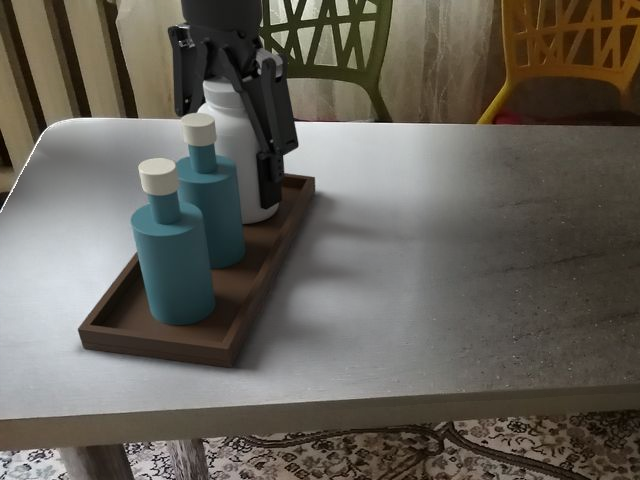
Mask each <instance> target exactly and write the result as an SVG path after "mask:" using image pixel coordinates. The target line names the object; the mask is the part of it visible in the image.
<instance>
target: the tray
mask: <svg viewBox="0 0 640 480" xmlns="http://www.w3.org/2000/svg"><path fill="white" fill-rule="evenodd" d="M284 174H285V175H284V178H283V179H282V180H281V189H282V201H280V202H279V206H278V209H277V211H276V212H275V213H274V214H273V215H272V216H271V217H269V218H268V219H265V220H263V221H260V222H256V223H250V224H243V233H244V242H245V255H244V257H243V258H242V259H241V260H240V261H239V262H238V263H236V264H234V265H232V266H229V267H225V268H218V269H211V275H212V282H213V288H214V295H215V302H216V305H215V308H214V310H213V312H212V313H211V314H210V315H209V316H208V317H207V318H205V319H203V320H201V321H199V322H197V323H193V324H189V325H168V324H165V323H162V322H160V321H158V320H157V319H155V318H154V317H153V315H152V314H151V311H150V306H149V302H148V297H147V293H146V288H145V284H144V280H143V275H142V271H141V266H140V262H139V257H138V253H137V251H136V252H135V253H134V254H133V256H132V257H131V258H130V260H129V261H128V262H127V264H126V265H124V267H123V269H122V270H121V271H120V272H119V274H118V275H117V277H115V279H114V280H113V282H112V284H110V286H109V287H108V288H107V290H106V291H105V292H104V294H103V295H102V296H101V298H100V299H99V300H98V301H97V303H96V304H95V305H94V306H93V308H92V310H91V311H90V312H89V313H88V314H87V316H86V317H85V319H84V320H83V321H82V322H81V324H80V325H79V327H78V328H77V332H78V335H79V338H80V341H81V346H82V348H83V349H86V350H92V351H93V350H95V351H102V352H110V353H116V354H124V355H125V354H126V355H131V356H132V355H133V356H140V357H146V358H154V359H162V360H170V361H177V362H178V361H179V362H183V363H184V362H185V363H193V364H200V365H206V366H207V365H208V366H215V367H223V368H230V369H231V368H232V366H233V365H234V363H235V360H236V359H237V356H238V354H239V352H240V350H241V348H242V346H243V344H244V342H245V339H246V338H247V335H248V333H249V332H250V329H251V327H252V325H253V323H254V321H255V320H256V317H257V315H258V313H259V311H260V309H261V307H262V304H263V303H264V300H265V299H266V296H267V294H268V293H269V290H270V289H271V286H272V285H273V282H274V281H275V278H276V276H277V274H278V272H279V269H280V268H281V266H282V263H283V262H284V259H285V257H286V255H287V254H288V252H289V249H290V247H291V244H292V243H293V241H294V239H295V237H296V235H297V233H298V231H299V228H300V226H301V224H302V222H303V220H304V218H305V216H306V214H307V212H308V210H309V208H310V206H311V204H312V202H313V199H314V197H315V196H316V177H315V176H310V175H304V174H303V175H302V174H295V173H287V172H284Z"/></svg>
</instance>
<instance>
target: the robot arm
mask: <svg viewBox="0 0 640 480" xmlns="http://www.w3.org/2000/svg"><path fill="white" fill-rule="evenodd" d="M180 6H181V13H182V14H181V15H182V17H183V19H184V21H185V22H181V23H178V24H175V25H171V26H169V27H168V28H167V34H168V35H167V36H168V39H169V42H170V46H171V49H172V74H173V76H172V77H173V78H172V79H173V103H174V104H173V107H174V113H175V115H176V116H177V117H178V118H182V117H183V116H185V115H187V114H191V113H197V112H198V110H199V108H200V107H201V106H202V105H203V104H204V103H206V98H205V95H204V89H203V82H204V81H205V80H207V79H209V78H212V77H214V76H224V77H225V78H227V79H228V80H230V81H231V84H232V86H233V89H234V91H235V92H237V93H239V94H240V97H241V99H242V102H243V104H244V107H245V109H246V112H247V114H248V117H249V119H250V122H251V125H252V127H253V130H254V132H255V135H256V137H257V140H258V142H259V145H260V147H261V150H262V151H261V152H259V153H257V154H256V159H257V169H258V180H259V191H260V202H261V208H263V209H265V210H267V209H269V208H270V207H272V206H274V205H275V204H277V203H279V202H280V201H282V189H281V180H282V179H283V178H284V175H285V174H284V173H285V161H284V156H285V155H288V154H289V153H291V152H293V151H295V150H297V149H298V148H299V145H300V143H299V139H298V133H297V128H296V122H295V117H294V111H293V106H292V101H291V95H290V89H289V84H288V79H287V75H288V63H289V60H288V57H287V55H286V54H285V53H283V52H280V53H278V54H277V53H276V54H274V53H272V52H270V51H269V50H267V49H265V47H264V43H263V41H262V39H261V37H260V26H261V24H262V21H263V19H264V14H263V0H180ZM249 76H250V77H251V79H249V80H247V81H244V82H243V80H242V79H244V78H247V77H249ZM271 140H273V142H271Z"/></svg>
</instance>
